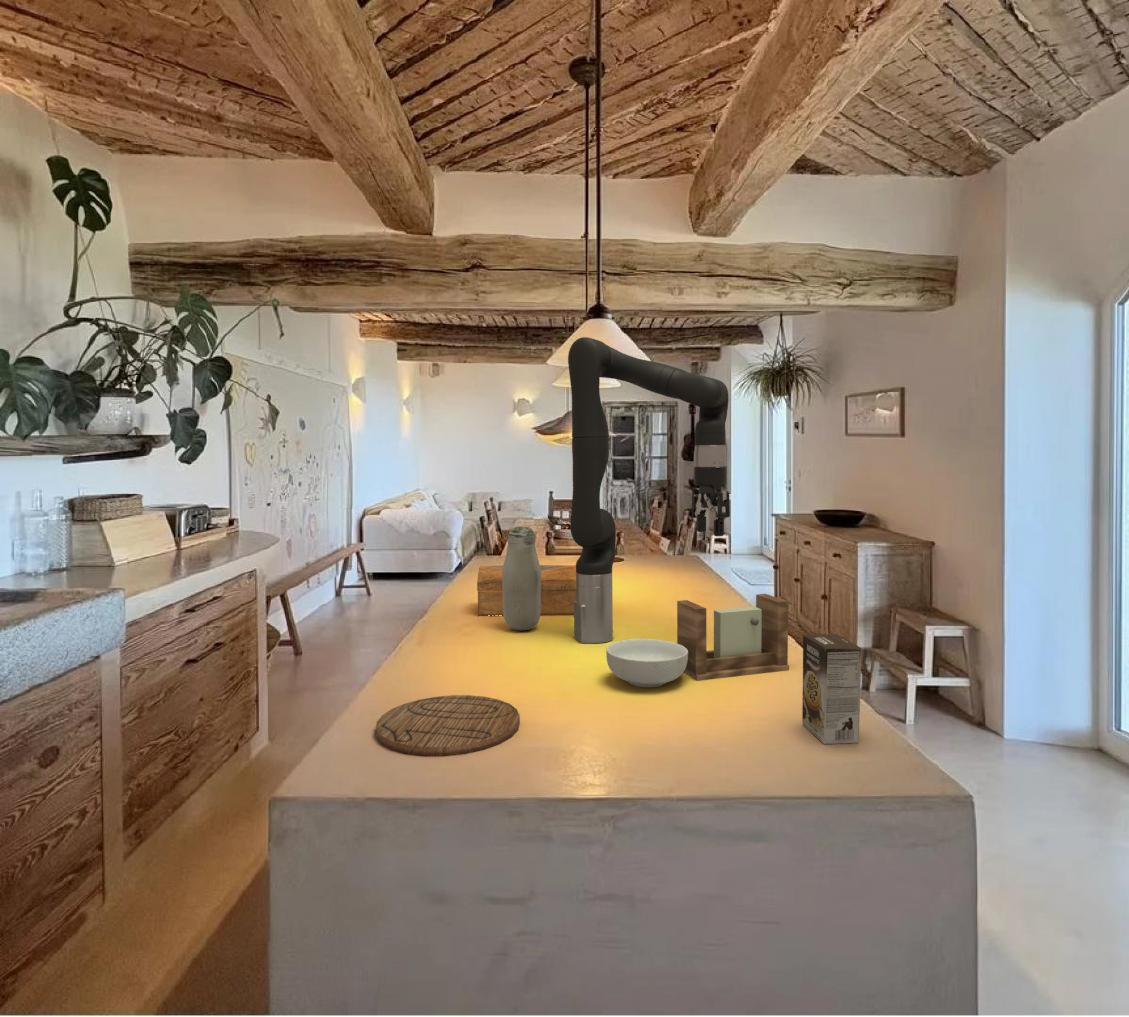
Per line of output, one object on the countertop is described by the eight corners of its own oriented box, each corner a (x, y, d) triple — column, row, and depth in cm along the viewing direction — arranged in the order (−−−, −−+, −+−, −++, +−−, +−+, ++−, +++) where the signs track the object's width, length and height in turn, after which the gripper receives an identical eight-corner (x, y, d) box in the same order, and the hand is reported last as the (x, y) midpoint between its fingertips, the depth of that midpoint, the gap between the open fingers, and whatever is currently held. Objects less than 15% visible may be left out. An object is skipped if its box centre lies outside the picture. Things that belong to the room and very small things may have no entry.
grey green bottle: (497, 632, 198) (495, 528, 196) (514, 623, 207) (512, 524, 205) (531, 635, 194) (529, 529, 192) (547, 626, 204) (545, 525, 201)
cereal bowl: (634, 700, 144) (634, 664, 143) (591, 677, 159) (591, 644, 158) (704, 686, 152) (704, 652, 151) (657, 665, 166) (657, 634, 166)
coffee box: (800, 724, 130) (801, 633, 129) (835, 722, 131) (837, 632, 129) (822, 745, 121) (824, 647, 120) (860, 743, 122) (862, 646, 120)
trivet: (500, 762, 117) (500, 750, 117) (351, 754, 121) (350, 742, 121) (532, 707, 142) (532, 697, 141) (407, 702, 146) (407, 692, 146)
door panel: (722, 669, 160) (722, 613, 159) (713, 663, 163) (713, 610, 162) (763, 664, 162) (764, 610, 161) (753, 659, 166) (754, 606, 165)
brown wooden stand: (697, 680, 155) (697, 609, 154) (676, 667, 165) (676, 600, 163) (788, 670, 161) (789, 601, 160) (763, 657, 171) (764, 593, 170)
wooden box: (476, 618, 216) (475, 570, 215) (484, 606, 233) (483, 562, 231) (579, 617, 215) (578, 570, 214) (580, 605, 231) (579, 561, 230)
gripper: (681, 464, 179) (682, 531, 180) (710, 465, 165) (710, 538, 167) (710, 464, 181) (709, 530, 183) (740, 465, 168) (739, 536, 169)
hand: (710, 533), depth 175 cm, fingers open, 8 cm apart
